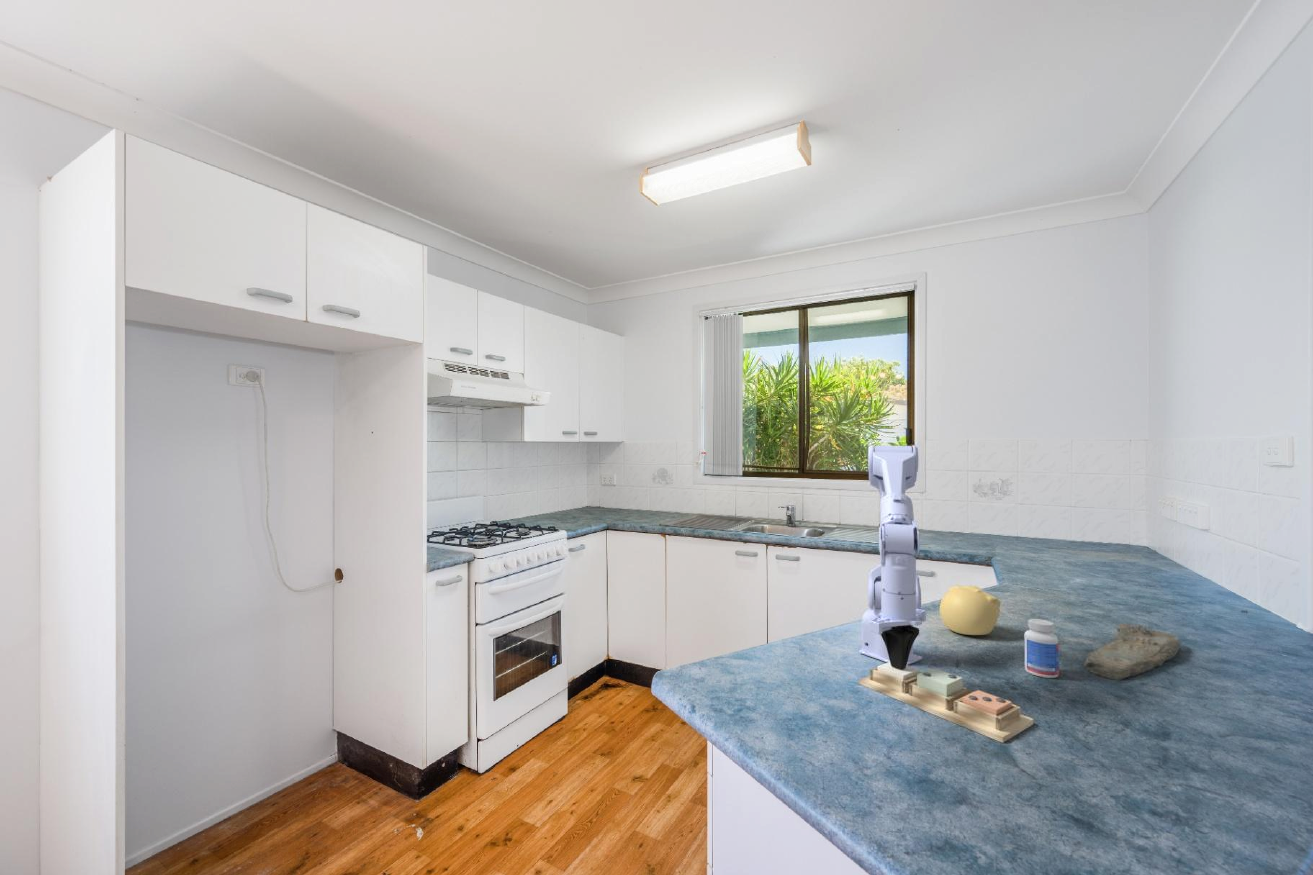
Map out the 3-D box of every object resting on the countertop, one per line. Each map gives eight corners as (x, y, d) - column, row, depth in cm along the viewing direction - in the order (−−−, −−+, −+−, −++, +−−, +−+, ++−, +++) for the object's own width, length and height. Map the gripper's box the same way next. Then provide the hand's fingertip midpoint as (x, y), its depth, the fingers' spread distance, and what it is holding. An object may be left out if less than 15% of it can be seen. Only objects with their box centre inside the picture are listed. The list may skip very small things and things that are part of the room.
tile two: (917, 688, 93) (917, 672, 93) (933, 681, 96) (933, 666, 96) (946, 699, 89) (946, 683, 89) (962, 692, 92) (962, 676, 92)
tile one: (877, 679, 99) (877, 664, 100) (893, 673, 102) (893, 659, 102) (903, 689, 95) (903, 674, 95) (919, 683, 98) (919, 668, 98)
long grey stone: (1068, 675, 109) (1132, 697, 100) (1069, 649, 108) (1133, 669, 100) (1134, 635, 128) (1192, 650, 119) (1135, 612, 127) (1193, 626, 119)
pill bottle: (1064, 680, 102) (1064, 627, 103) (1032, 677, 103) (1032, 625, 104) (1050, 668, 108) (1049, 618, 108) (1019, 666, 109) (1019, 616, 109)
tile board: (859, 683, 100) (859, 669, 100) (891, 671, 105) (891, 657, 105) (1002, 742, 80) (1002, 724, 80) (1033, 724, 86) (1033, 707, 86)
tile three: (962, 712, 87) (962, 696, 87) (978, 704, 90) (978, 688, 90) (996, 726, 83) (996, 708, 83) (1011, 717, 86) (1011, 700, 86)
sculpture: (1007, 635, 128) (1007, 588, 128) (978, 643, 121) (978, 594, 122) (958, 621, 137) (958, 578, 138) (929, 629, 131) (929, 583, 132)
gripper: (895, 601, 92) (895, 684, 91) (942, 590, 100) (942, 665, 100) (858, 592, 98) (858, 669, 97) (905, 582, 106) (905, 653, 105)
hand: (898, 667), depth 99 cm, fingers closed, pressing on tile one
